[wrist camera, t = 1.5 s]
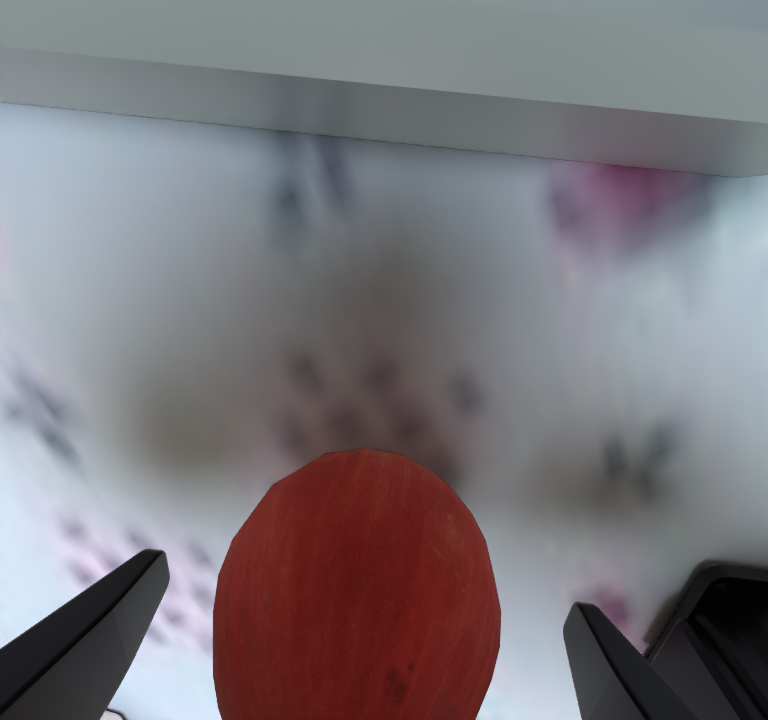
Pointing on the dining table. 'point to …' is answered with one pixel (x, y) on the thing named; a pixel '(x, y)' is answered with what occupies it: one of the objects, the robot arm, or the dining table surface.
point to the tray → (419, 72)
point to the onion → (356, 598)
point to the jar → (110, 716)
